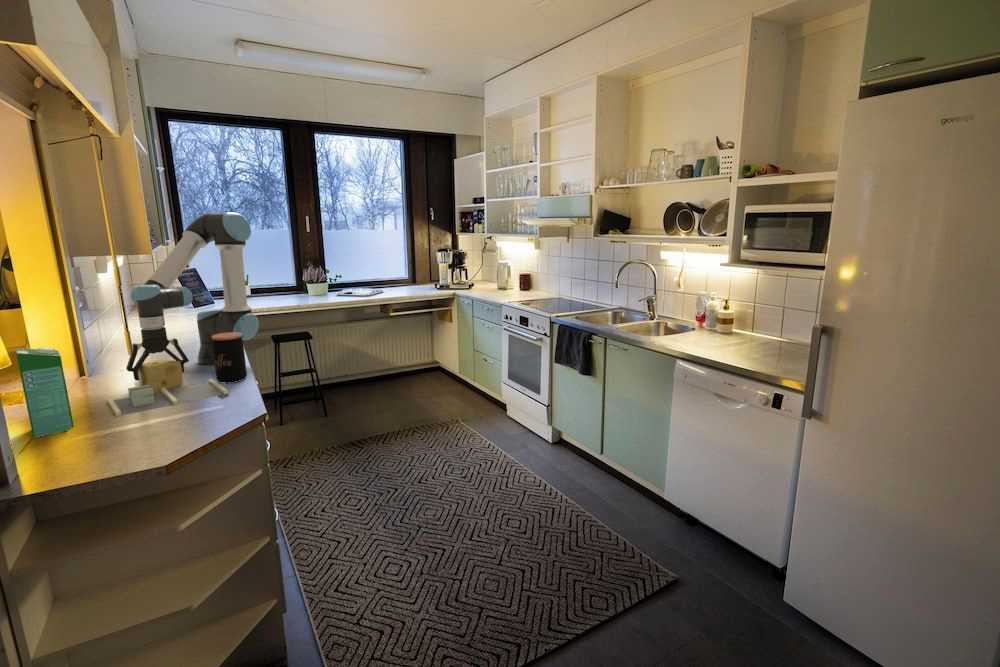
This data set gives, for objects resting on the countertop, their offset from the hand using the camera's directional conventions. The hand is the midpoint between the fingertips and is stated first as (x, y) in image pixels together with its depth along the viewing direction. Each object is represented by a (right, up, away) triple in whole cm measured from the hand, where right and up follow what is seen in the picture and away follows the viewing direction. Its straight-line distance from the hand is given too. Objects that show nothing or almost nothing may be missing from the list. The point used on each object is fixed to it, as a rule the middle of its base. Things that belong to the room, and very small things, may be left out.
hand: (161, 384), depth 188 cm
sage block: (+6, -4, -18) cm, 19 cm away
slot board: (+11, -4, -13) cm, 17 cm away
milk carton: (-7, -10, -38) cm, 40 cm away
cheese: (0, -2, 0) cm, 2 cm away
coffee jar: (+20, +1, +11) cm, 23 cm away
